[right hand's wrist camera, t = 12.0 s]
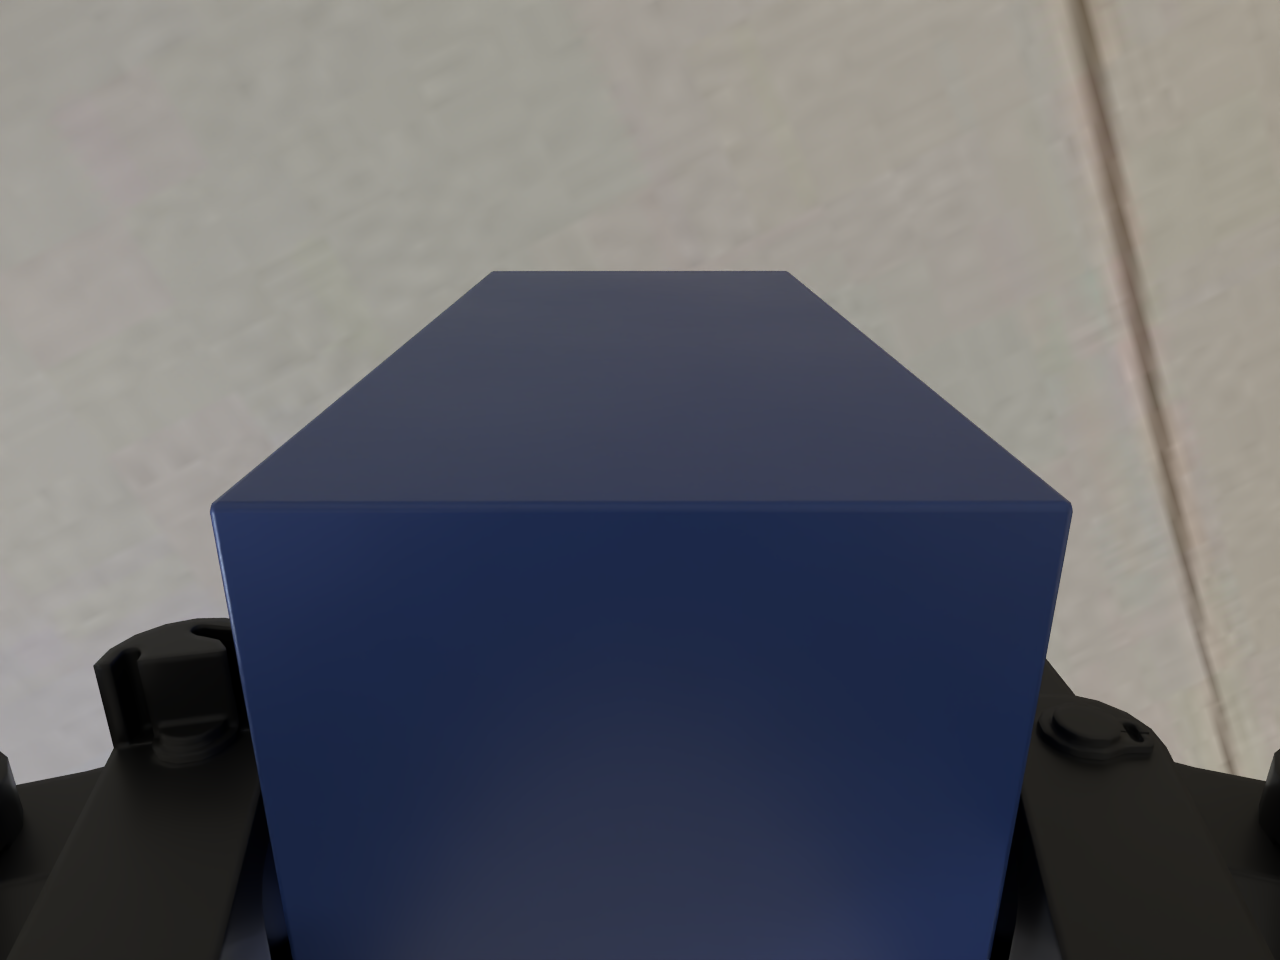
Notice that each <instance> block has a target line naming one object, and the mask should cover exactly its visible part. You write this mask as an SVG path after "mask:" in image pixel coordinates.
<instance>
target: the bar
mask: <svg viewBox="0 0 1280 960" xmlns="http://www.w3.org/2000/svg"><path fill="white" fill-rule="evenodd" d="M1072 513H1073V511H1072V505H1071V503H1070V502H1069V501H1068V500H1067V499H1065V498H1064V497H1063V496H1062V495H1060V494H1059V493H1058V492H1057V491H1056V490H1054V489H1053V488H1052V487H1051V486H1049V485H1048V484H1047V483H1046V482H1045V481H1043V480H1042V479H1041V478H1040V477H1038V476H1037V475H1036V474H1035V473H1034V472H1032V471H1031V470H1030V469H1029V468H1027V467H1026V466H1025V465H1024V464H1023V463H1021V462H1020V461H1019V460H1018V459H1016V458H1015V457H1014V456H1013V455H1012V454H1010V453H1009V452H1008V451H1007V450H1005V449H1004V448H1003V447H1002V446H1001V445H999V444H998V443H997V442H996V441H994V440H993V439H992V438H991V437H989V436H988V435H987V434H986V433H985V432H983V431H982V430H981V429H980V428H978V427H977V426H976V425H975V424H974V423H972V422H971V421H970V420H969V419H967V418H966V417H965V416H964V415H963V414H961V413H960V412H959V411H958V410H956V409H955V408H954V407H953V406H952V405H950V404H949V403H948V402H947V401H945V400H944V399H943V398H942V397H941V396H939V395H938V394H937V393H936V392H934V391H933V390H932V389H931V388H930V387H928V386H927V385H926V384H925V383H923V382H922V381H921V380H920V379H918V378H917V377H916V376H915V375H914V374H912V373H911V372H910V371H909V370H907V369H906V368H905V367H904V366H903V365H901V364H900V363H899V362H898V361H896V360H895V359H894V358H893V357H892V356H890V355H889V354H888V353H887V352H885V351H884V350H883V349H882V348H881V347H879V346H878V345H877V344H876V343H874V342H873V341H872V340H871V339H870V338H868V337H867V336H866V335H865V334H863V333H862V332H861V331H860V330H859V329H857V328H856V327H855V326H854V325H852V324H851V323H850V322H849V321H847V320H846V319H845V318H844V317H843V316H841V315H840V314H839V313H838V312H836V311H835V310H834V309H833V308H832V307H830V306H829V305H828V304H827V303H825V302H824V301H823V300H822V299H821V298H819V297H818V296H817V295H816V294H814V293H813V292H812V291H811V290H810V289H808V288H807V287H806V286H805V285H803V284H802V283H801V282H800V281H799V280H797V279H796V278H795V277H794V276H792V275H791V274H790V273H789V272H787V271H493V272H491V273H490V274H489V275H487V276H486V277H485V278H484V279H483V280H481V281H480V282H479V283H478V284H476V285H475V286H474V287H473V288H472V289H470V290H469V291H468V292H467V293H466V294H464V295H463V296H462V297H461V298H460V299H458V300H457V301H456V302H455V303H454V304H452V305H451V306H450V307H449V308H447V309H446V310H445V311H444V312H443V313H441V314H440V315H439V316H438V317H437V318H435V319H434V320H433V321H432V322H431V323H429V324H428V325H427V326H426V327H425V328H423V329H422V330H421V331H420V332H419V333H417V334H416V335H415V336H414V337H412V338H411V339H410V340H409V341H408V342H406V343H405V344H404V345H403V346H402V347H400V348H399V349H398V350H397V351H396V352H394V353H393V354H392V355H391V356H390V357H388V358H387V359H386V360H385V361H384V362H382V363H381V364H380V365H379V366H377V367H376V368H375V369H374V370H373V371H371V372H370V373H369V374H368V375H367V376H365V377H364V378H363V379H362V380H361V381H359V382H358V383H357V384H356V385H355V386H353V387H352V388H351V389H350V390H348V391H347V392H346V393H345V394H344V395H342V396H341V397H340V398H339V399H338V400H336V401H335V402H334V403H333V404H332V405H330V406H329V407H328V408H327V409H326V410H324V411H323V412H322V413H321V414H320V415H318V416H317V417H316V418H315V419H313V420H312V421H311V422H310V423H309V424H307V425H306V426H305V427H304V428H303V429H301V430H300V431H299V432H298V433H297V434H295V435H294V436H293V437H292V438H291V439H289V440H288V441H287V442H286V443H284V444H283V445H282V446H281V447H280V448H278V449H277V450H276V451H275V452H274V453H272V454H271V455H270V456H269V457H268V458H266V459H265V460H264V461H263V462H262V463H260V464H259V465H258V466H257V467H256V468H254V469H253V470H252V471H251V472H249V473H248V474H247V475H246V476H245V477H243V478H242V479H241V480H240V481H239V482H237V483H236V484H235V485H234V486H233V487H231V488H230V489H229V490H228V491H227V492H225V493H224V494H223V495H222V496H220V497H219V498H218V499H217V500H216V501H214V502H213V503H212V505H211V509H210V515H211V520H212V526H213V531H214V536H215V542H216V547H217V553H218V558H219V564H220V569H221V574H222V580H223V585H224V591H225V596H226V602H227V607H228V612H229V618H230V623H231V629H232V634H233V640H234V645H235V650H236V656H237V661H238V667H239V672H240V678H241V683H242V688H243V694H244V699H245V705H246V710H247V716H248V721H249V726H250V732H251V737H252V743H253V748H254V754H255V759H256V764H257V770H258V775H259V781H260V786H261V792H262V797H263V802H264V808H265V813H266V819H267V824H268V830H269V835H270V840H271V846H272V851H273V857H274V862H275V868H276V873H277V878H278V884H279V889H280V895H281V900H282V906H283V911H284V917H285V922H286V927H287V933H288V938H289V944H290V949H291V955H292V960H990V957H991V952H992V946H993V941H994V935H995V930H996V925H997V919H998V914H999V908H1000V903H1001V897H1002V892H1003V887H1004V881H1005V876H1006V870H1007V865H1008V859H1009V854H1010V849H1011V843H1012V838H1013V832H1014V827H1015V822H1016V816H1017V811H1018V805H1019V800H1020V794H1021V789H1022V784H1023V778H1024V773H1025V767H1026V762H1027V757H1028V751H1029V746H1030V740H1031V735H1032V729H1033V724H1034V719H1035V713H1036V708H1037V702H1038V697H1039V691H1040V686H1041V681H1042V675H1043V670H1044V664H1045V659H1046V654H1047V648H1048V643H1049V637H1050V632H1051V626H1052V621H1053V616H1054V610H1055V605H1056V599H1057V594H1058V588H1059V583H1060V578H1061V572H1062V567H1063V561H1064V556H1065V551H1066V545H1067V540H1068V534H1069V529H1070V523H1071V518H1072Z"/></svg>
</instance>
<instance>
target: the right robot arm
mask: <svg viewBox="0 0 1280 960" xmlns="http://www.w3.org/2000/svg"><path fill="white" fill-rule="evenodd" d="M94 670H95V674H96V678H97V682H98V686H99V690H100V694H101V698H102V702H103V706H104V710H105V714H106V718H107V722H108V726H109V730H110V734H111V738H112V742H113V746H114V749H113V751H112V753H111V755H110V757H109V759H108V761H107V763H106V765H105V767H101V768H97V769H94V770H90V771H86V772H80V773H75V774H70V775H65V776H60V777H55V778H50V779H45V780H40V781H35V782H30V783H25V784H20V785H16V784H15V781H14V777H13V774H12V771H11V767H10V764H9V761H8V757H6V756H5V755H4V754H3V753H1V752H0V960H292V955H291V949H290V944H289V938H288V933H287V927H286V922H285V917H284V911H283V906H282V900H281V895H280V889H279V884H278V878H277V873H276V868H275V862H274V857H273V851H272V846H271V840H270V835H269V830H268V824H267V819H266V813H265V808H264V802H263V797H262V792H261V786H260V781H259V775H258V770H257V764H256V759H255V754H254V748H253V743H252V737H251V732H250V726H249V721H248V716H247V710H246V705H245V699H244V694H243V688H242V683H241V678H240V672H239V667H238V661H237V656H236V650H235V645H234V640H233V634H232V629H231V623H230V619H228V618H197V619H191V620H186V621H181V622H175V623H170V624H165V625H162V626H159V627H156V628H154V629H151V630H148V631H145V632H142V633H139V634H136V635H134V636H132V637H131V638H129V639H127V640H125V641H124V642H122V643H120V644H118V645H117V646H115V647H113V648H111V649H110V650H109V651H108V652H107V653H106V654H105V655H104V656H103V657H102V658H101V659H100V660H99V661H98V662H97V663H96V664H95V665H94ZM990 960H1280V749H1279V750H1278V751H1277V752H1275V753H1274V757H1273V760H1272V763H1271V767H1270V770H1269V773H1268V776H1267V780H1266V781H1261V780H1256V779H1251V778H1246V777H1241V776H1236V775H1231V774H1226V773H1221V772H1216V771H1211V770H1205V769H1200V768H1195V767H1191V766H1187V765H1184V764H1180V763H1176V762H1174V761H1173V759H1172V757H1171V755H1170V753H1169V751H1168V749H1167V747H1166V746H1165V745H1164V744H1163V742H1162V741H1161V740H1160V739H1159V738H1158V736H1157V735H1156V734H1155V733H1154V732H1153V730H1152V729H1151V728H1149V727H1148V726H1146V725H1145V724H1143V723H1142V722H1140V721H1139V720H1137V719H1136V718H1134V717H1133V716H1131V715H1130V714H1128V713H1127V712H1124V711H1122V710H1119V709H1117V708H1115V707H1112V706H1110V705H1107V704H1105V703H1102V702H1100V701H1097V700H1092V699H1088V698H1083V697H1079V696H1075V694H1074V693H1073V692H1072V691H1071V689H1070V688H1069V687H1068V686H1067V684H1066V683H1065V682H1064V681H1063V679H1062V678H1061V677H1060V676H1059V674H1058V673H1057V672H1056V671H1055V669H1054V668H1053V667H1052V666H1051V664H1050V663H1049V662H1048V661H1047V659H1045V664H1044V670H1043V675H1042V681H1041V686H1040V691H1039V697H1038V702H1037V708H1036V713H1035V719H1034V724H1033V729H1032V735H1031V740H1030V746H1029V751H1028V757H1027V762H1026V767H1025V773H1024V778H1023V784H1022V789H1021V794H1020V800H1019V805H1018V811H1017V816H1016V822H1015V827H1014V832H1013V838H1012V843H1011V849H1010V854H1009V859H1008V865H1007V870H1006V876H1005V881H1004V887H1003V892H1002V897H1001V903H1000V908H999V914H998V919H997V925H996V930H995V935H994V941H993V946H992V952H991V957H990Z"/></svg>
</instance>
